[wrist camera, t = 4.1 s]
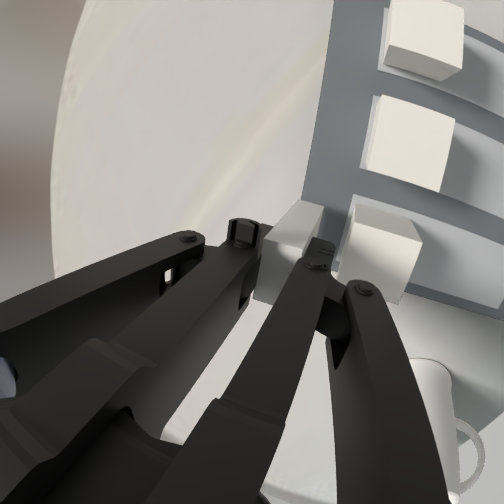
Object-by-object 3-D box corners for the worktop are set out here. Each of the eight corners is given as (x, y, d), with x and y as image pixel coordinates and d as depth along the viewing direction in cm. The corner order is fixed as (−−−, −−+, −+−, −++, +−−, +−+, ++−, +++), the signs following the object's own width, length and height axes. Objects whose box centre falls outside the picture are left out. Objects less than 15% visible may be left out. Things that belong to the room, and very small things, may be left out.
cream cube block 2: (376, 103, 14) (382, 94, 11) (434, 121, 13) (455, 119, 10) (365, 161, 16) (367, 169, 12) (421, 178, 15) (438, 192, 11)
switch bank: (337, -4, 13) (335, -12, 12) (595, 118, 7) (604, 118, 6) (292, 251, 21) (288, 258, 20) (533, 323, 15) (539, 332, 14)
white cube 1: (388, 13, 11) (393, -15, 8) (444, 31, 11) (463, 9, 7) (382, 63, 13) (389, 44, 9) (440, 82, 12) (461, 69, 9)
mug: (493, 370, 18) (518, 483, 8) (447, 426, 22) (449, 525, 11) (383, 348, 21) (374, 485, 11) (348, 410, 25) (324, 520, 14)
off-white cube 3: (355, 202, 17) (354, 222, 13) (410, 219, 16) (422, 242, 12) (340, 255, 18) (335, 286, 15) (392, 270, 17) (397, 304, 14)
